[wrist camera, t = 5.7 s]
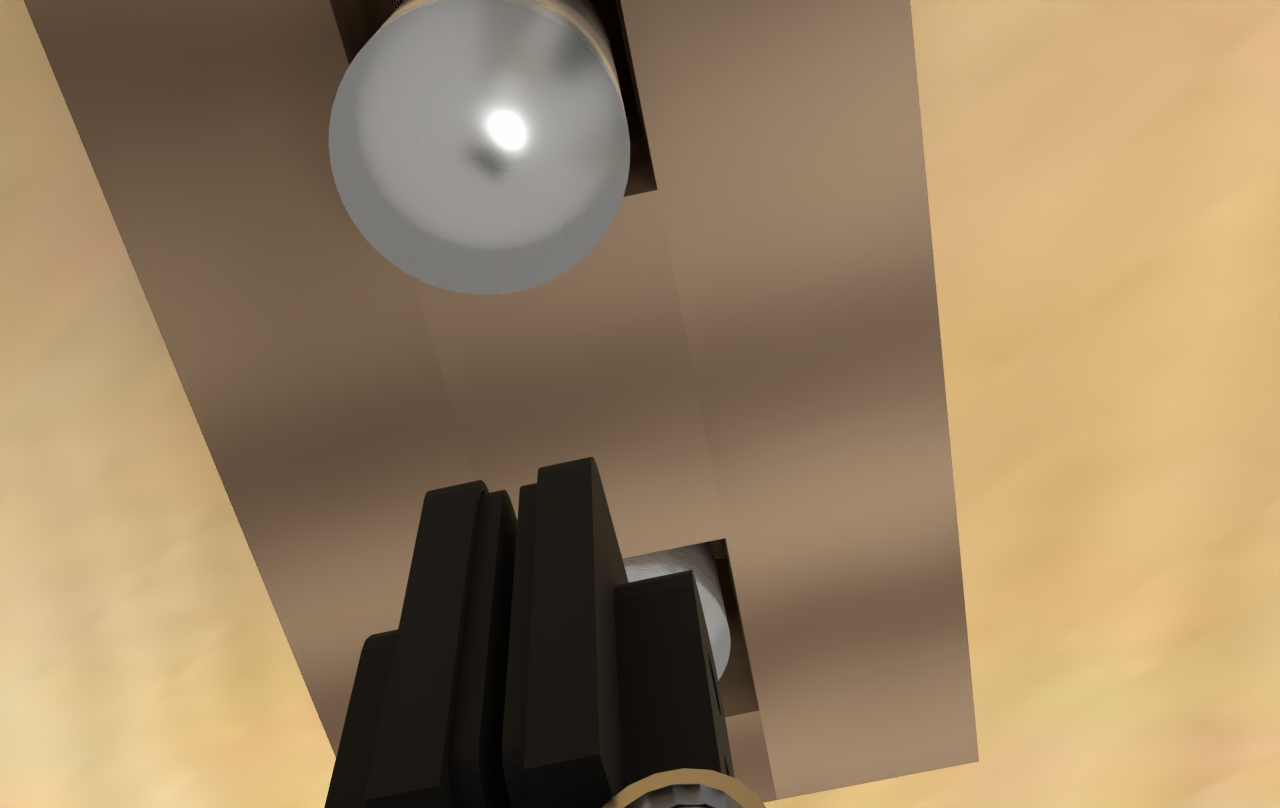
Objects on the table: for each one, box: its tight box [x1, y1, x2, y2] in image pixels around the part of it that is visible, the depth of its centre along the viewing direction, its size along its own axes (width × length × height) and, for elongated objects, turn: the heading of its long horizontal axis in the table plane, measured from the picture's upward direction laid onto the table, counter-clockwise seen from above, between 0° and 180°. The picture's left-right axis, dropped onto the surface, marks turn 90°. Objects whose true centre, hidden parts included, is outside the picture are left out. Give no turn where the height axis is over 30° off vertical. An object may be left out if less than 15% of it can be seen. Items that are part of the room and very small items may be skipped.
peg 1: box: [329, 0, 630, 295], centre depth 18 cm, size 4×4×6 cm
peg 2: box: [623, 541, 731, 681], centre depth 28 cm, size 4×4×6 cm
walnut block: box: [24, 0, 979, 802], centre depth 25 cm, size 22×14×6 cm, turn 11°
